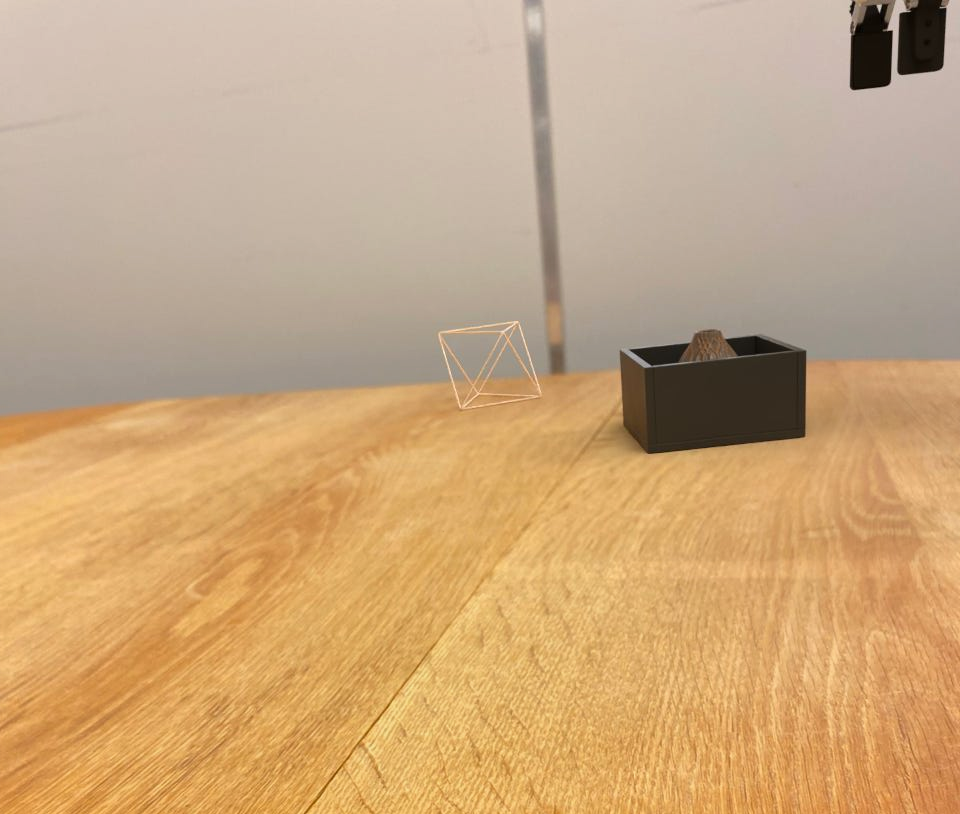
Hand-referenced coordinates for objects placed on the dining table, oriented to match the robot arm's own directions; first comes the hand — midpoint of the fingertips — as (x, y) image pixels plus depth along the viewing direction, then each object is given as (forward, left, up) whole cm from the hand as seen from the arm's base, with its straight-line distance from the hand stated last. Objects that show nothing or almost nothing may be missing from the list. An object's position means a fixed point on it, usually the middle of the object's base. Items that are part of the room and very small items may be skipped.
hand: (893, 80), depth 82 cm
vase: (+12, -13, -28) cm, 33 cm away
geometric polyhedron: (+32, -45, -28) cm, 62 cm away
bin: (+12, -13, -28) cm, 33 cm away
